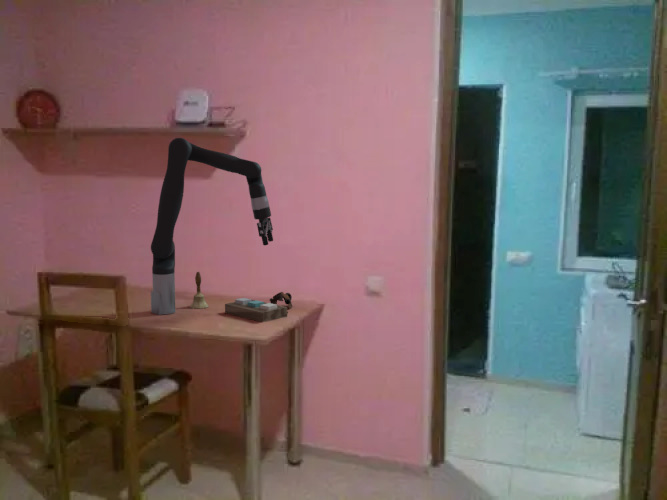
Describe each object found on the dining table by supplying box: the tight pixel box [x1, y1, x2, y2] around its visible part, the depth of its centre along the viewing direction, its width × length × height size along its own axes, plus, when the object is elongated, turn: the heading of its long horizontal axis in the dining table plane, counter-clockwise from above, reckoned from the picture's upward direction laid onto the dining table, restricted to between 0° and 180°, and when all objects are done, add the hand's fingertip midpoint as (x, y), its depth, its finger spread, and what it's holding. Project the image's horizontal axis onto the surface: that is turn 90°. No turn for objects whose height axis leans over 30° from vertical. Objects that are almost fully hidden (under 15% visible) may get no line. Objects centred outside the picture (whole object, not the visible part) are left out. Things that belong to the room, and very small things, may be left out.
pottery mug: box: [269, 291, 293, 310], centre depth 278 cm, size 12×10×8 cm
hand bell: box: [189, 271, 209, 310], centre depth 276 cm, size 8×8×16 cm
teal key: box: [248, 299, 265, 308], centre depth 263 cm, size 5×5×2 cm
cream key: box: [260, 302, 278, 311], centre depth 258 cm, size 5×5×2 cm
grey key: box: [234, 297, 253, 305], centre depth 268 cm, size 5×5×2 cm
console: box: [224, 299, 288, 323], centre depth 263 cm, size 14×24×4 cm, turn 50°
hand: (268, 243), depth 270 cm, fingers open, 8 cm apart
